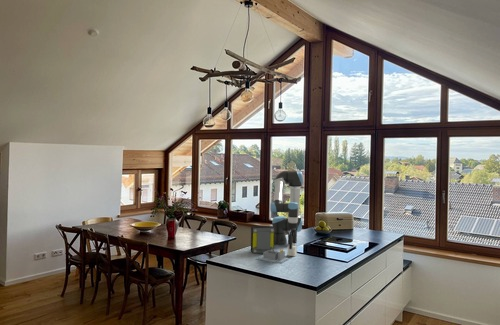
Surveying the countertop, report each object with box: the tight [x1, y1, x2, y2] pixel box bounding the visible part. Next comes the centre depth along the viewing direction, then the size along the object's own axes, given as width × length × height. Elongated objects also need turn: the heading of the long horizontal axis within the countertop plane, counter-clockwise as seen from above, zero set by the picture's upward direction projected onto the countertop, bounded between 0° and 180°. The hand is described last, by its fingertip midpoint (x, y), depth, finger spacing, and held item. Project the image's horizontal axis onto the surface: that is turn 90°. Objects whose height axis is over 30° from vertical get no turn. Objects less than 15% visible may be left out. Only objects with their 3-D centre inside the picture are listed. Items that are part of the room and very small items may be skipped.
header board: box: [256, 248, 289, 264], centre depth 272 cm, size 12×20×9 cm, turn 61°
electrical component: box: [250, 225, 275, 254], centre depth 294 cm, size 18×10×20 cm, turn 101°
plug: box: [286, 245, 298, 257], centre depth 284 cm, size 4×6×7 cm
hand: (292, 252), depth 284 cm, fingers closed on plug, 4 cm apart
